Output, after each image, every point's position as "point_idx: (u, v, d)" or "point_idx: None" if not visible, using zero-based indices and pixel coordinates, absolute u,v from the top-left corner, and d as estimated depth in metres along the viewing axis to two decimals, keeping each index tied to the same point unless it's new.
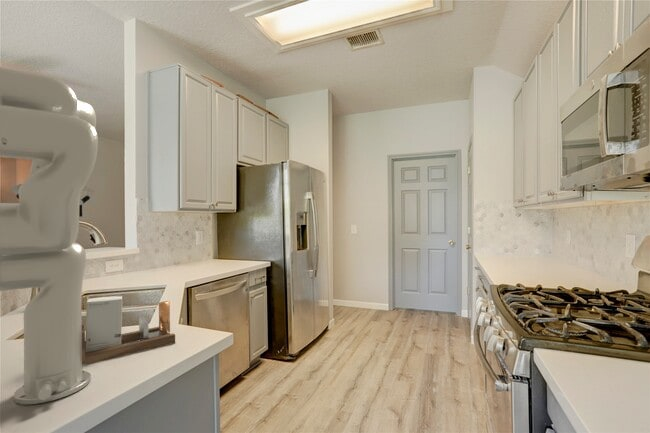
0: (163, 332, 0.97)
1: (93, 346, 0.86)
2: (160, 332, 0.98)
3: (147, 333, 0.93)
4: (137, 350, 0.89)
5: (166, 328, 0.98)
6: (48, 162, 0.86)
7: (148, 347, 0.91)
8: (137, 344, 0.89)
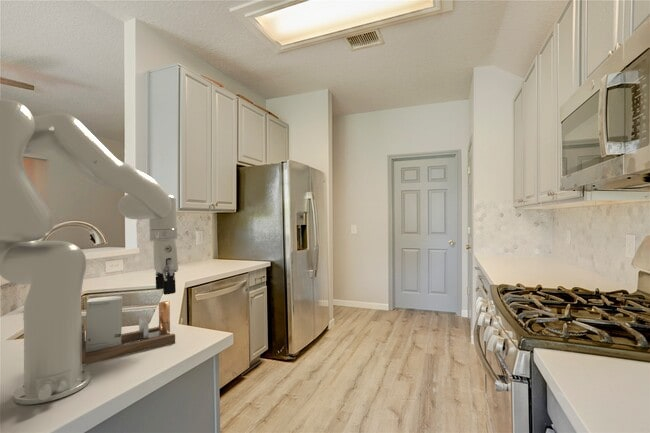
0: (163, 332, 0.97)
1: (93, 346, 0.86)
2: (160, 332, 0.98)
3: (147, 333, 0.93)
4: (137, 350, 0.89)
5: (166, 328, 0.98)
6: None
7: (148, 347, 0.91)
8: (137, 344, 0.89)
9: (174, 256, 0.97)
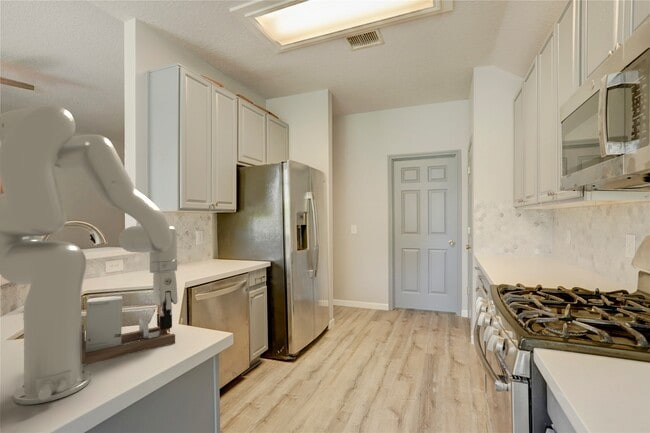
0: (163, 332, 0.97)
1: (93, 346, 0.86)
2: (160, 332, 0.98)
3: (147, 333, 0.93)
4: (137, 350, 0.89)
5: None
6: None
7: (148, 347, 0.91)
8: (137, 344, 0.89)
9: (174, 288, 0.96)
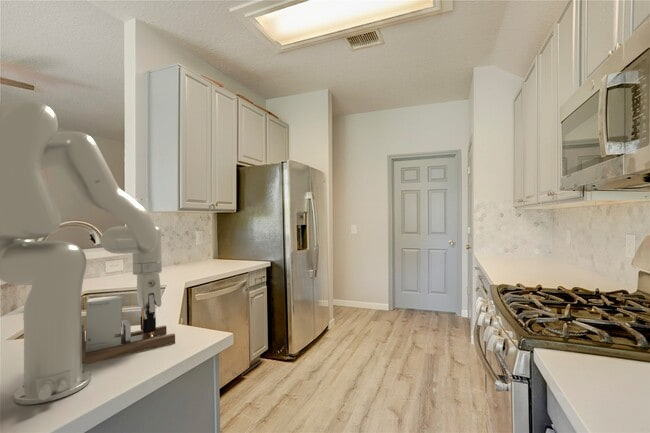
0: (146, 336, 0.95)
1: (93, 346, 0.86)
2: (143, 336, 0.95)
3: (129, 337, 0.90)
4: (137, 350, 0.89)
5: None
6: None
7: (148, 347, 0.91)
8: (137, 344, 0.89)
9: (157, 291, 0.94)
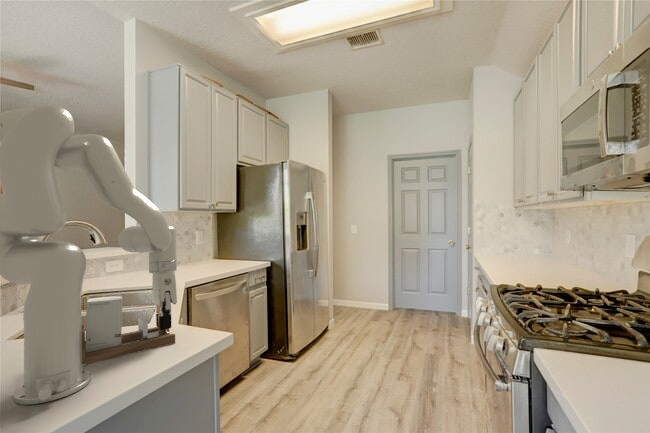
0: (162, 332, 0.97)
1: (93, 346, 0.86)
2: (159, 332, 0.97)
3: (146, 333, 0.93)
4: (137, 350, 0.89)
5: None
6: None
7: (148, 347, 0.91)
8: (137, 344, 0.89)
9: (173, 289, 0.96)
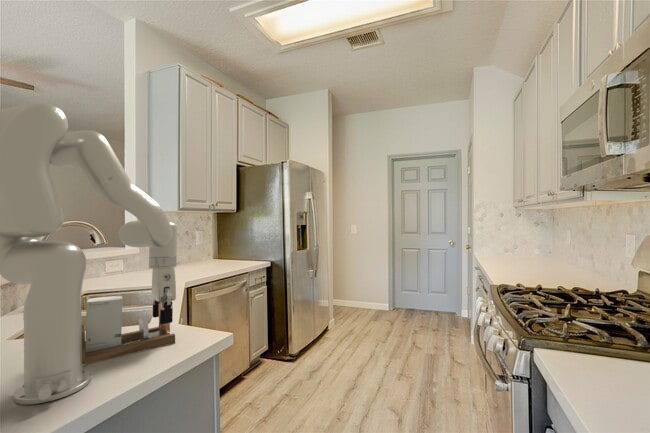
0: (163, 332, 0.97)
1: (93, 346, 0.86)
2: (160, 332, 0.98)
3: (147, 333, 0.93)
4: (137, 350, 0.89)
5: (166, 328, 0.98)
6: None
7: (148, 347, 0.91)
8: (137, 344, 0.89)
9: (172, 284, 0.96)
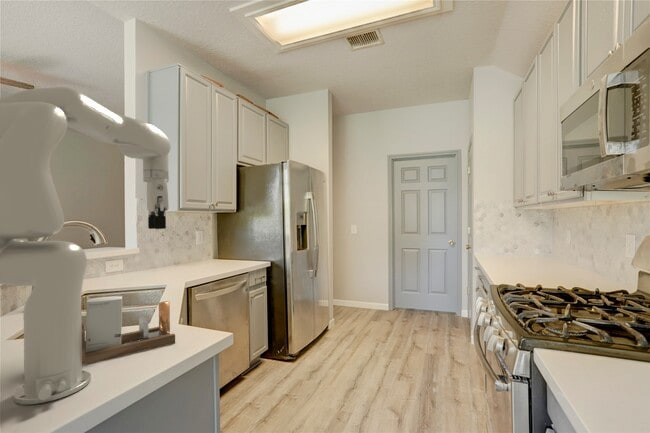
0: (163, 332, 0.97)
1: (93, 346, 0.86)
2: (160, 332, 0.98)
3: (147, 333, 0.93)
4: (137, 350, 0.89)
5: (166, 328, 0.98)
6: None
7: (148, 347, 0.91)
8: (137, 344, 0.89)
9: (165, 195, 1.05)
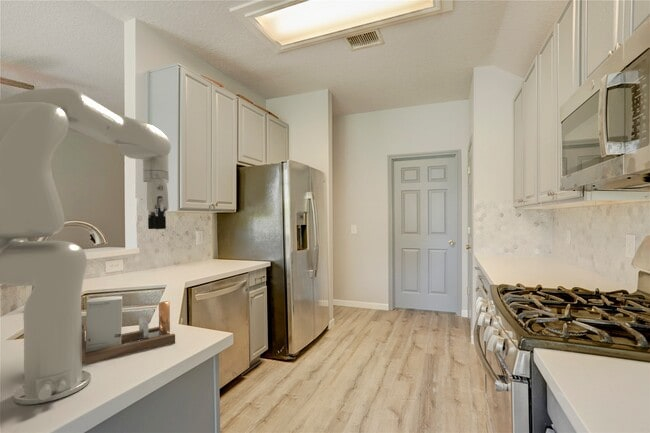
0: (163, 332, 0.97)
1: (93, 346, 0.86)
2: (160, 332, 0.98)
3: (147, 333, 0.93)
4: (137, 350, 0.89)
5: (166, 328, 0.98)
6: None
7: (148, 347, 0.91)
8: (137, 344, 0.89)
9: (165, 195, 1.06)
